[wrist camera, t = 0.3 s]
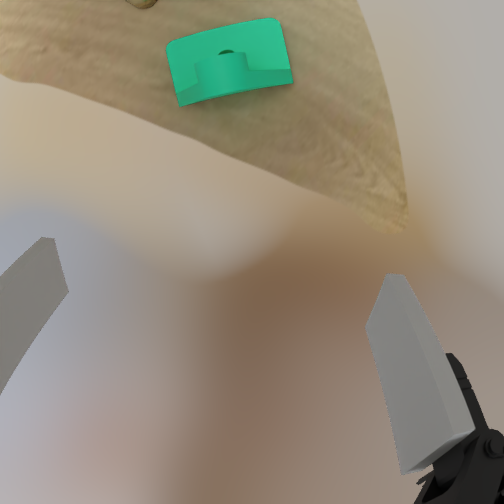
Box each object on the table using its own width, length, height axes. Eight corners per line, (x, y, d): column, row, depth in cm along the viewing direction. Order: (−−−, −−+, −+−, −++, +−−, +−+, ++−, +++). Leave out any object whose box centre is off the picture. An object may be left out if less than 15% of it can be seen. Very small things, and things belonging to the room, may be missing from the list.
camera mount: (277, 21, 25) (280, -6, 16) (291, 83, 29) (301, 80, 20) (171, 46, 27) (134, 33, 18) (185, 105, 31) (153, 113, 22)
